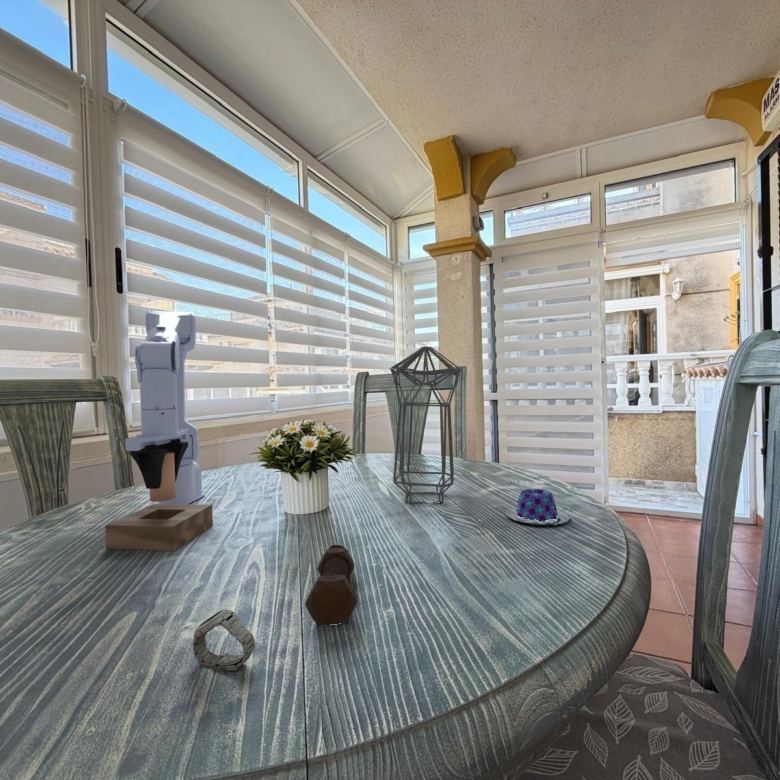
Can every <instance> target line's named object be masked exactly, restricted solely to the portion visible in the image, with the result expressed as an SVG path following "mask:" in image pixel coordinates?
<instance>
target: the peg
mask: <svg viewBox="0 0 780 780" xmlns="http://www.w3.org/2000/svg"><path fill="white" fill-rule="evenodd" d="M175 497H176V496H175V462H174V452H166V454H165V457H164V461H163V465H162V476H161V485H160V488H158V489H149V501H150V502H152V503H154V502H161V501H168V500H171V499H174V498H175Z"/></svg>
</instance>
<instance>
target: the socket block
mask: <svg viewBox="0 0 780 780" xmlns="http://www.w3.org/2000/svg"><path fill="white" fill-rule="evenodd" d="M213 521H214V520H213V504H191V503H189V504H153V505H150V504H149V505H148V506H146V507H144V508H142V509H140V510H137V511H135V512H132V513H130V514H128V515H125V516H123V517H121V518H119V519H116V520H114V521H112V522H110V523H107V524H105V525H104V527H105V528H104V529H105V531H104V532H105V550H120V551H121V550H123V551H124V550H131V551H174V552H175V551H176V550H177V549H179V548H181V547H182V546H184V545H185V544H186V543H188V542H190V541H192V540H193V539H195V538H196V537H197V536H199V535H200V534H202V533H204V532H205V531H206V530H208V529H209V528H212V527H213V525H214V523H213Z"/></svg>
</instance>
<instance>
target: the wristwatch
mask: <svg viewBox="0 0 780 780" xmlns="http://www.w3.org/2000/svg"><path fill="white" fill-rule="evenodd" d="M218 626H221V627H222V628H224V629H225V630H226V631H228V633H229V635H231V636H232V637H234V638H235V639H236V641H237V642H238V643H239V644H240V645H241V646H242V651H243V653H242V654H238V655H232V654H231V655H230V654H229V653H227V652H225V653H224V654H222V655H221V654H220V655H218V654H216V653H214V652H212V651H210V649H209V647H208V646H207V640H206V636H207V635H208V633H209V632H211V631H212V630H214V629H215V628H216V627H218ZM255 648H256V641H255V638H254V634H253V633H252V632H251V630H249V629H248V628H247V627H246V626H245V625H244V624H243V622H242V621H241V620H240V618H239V617H238V615H237V613H236V612H234V611H233V610H232V609H227V608H224V609H221V610H220V611H218V612H216V613H215V614H213V615H212V616H210V617H209V618H207V619H206V620H204V621H203V622H202V623H200V624H199V626H198V627H196V629H195V630H194V634H193V640H192V651H193V654H194V657H195V659H196V661H197V662H198V664H199V665H200V666H202V667H206V668H211V669H215V670H217V671H219V670H220V671H221V672H225V671H226V672H236V671H237V670H239V668H241V666H242V665H243V664H245V663H247V661H248V660H249V659H250V657H251V655H252V654H253V652H254V651H255Z"/></svg>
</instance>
